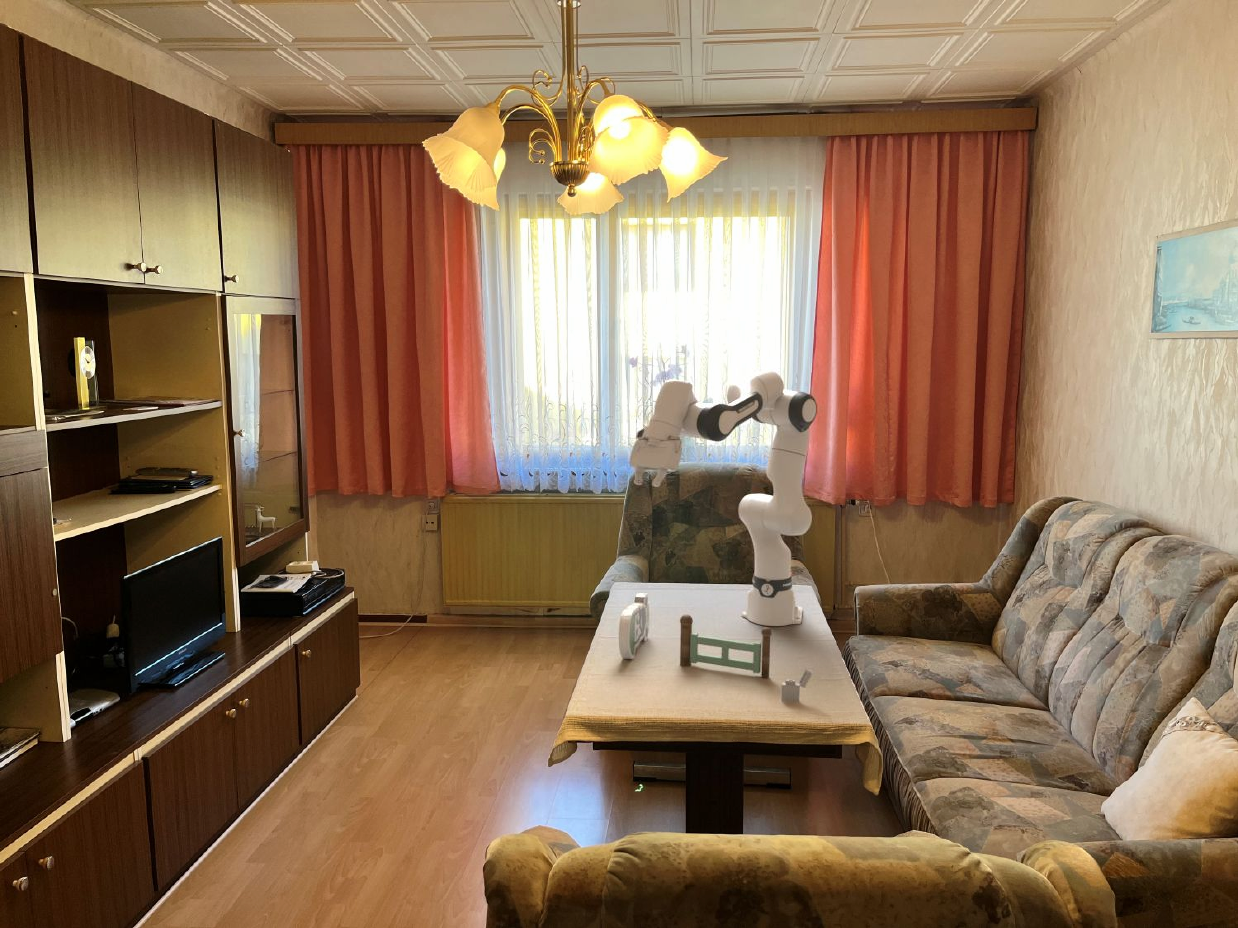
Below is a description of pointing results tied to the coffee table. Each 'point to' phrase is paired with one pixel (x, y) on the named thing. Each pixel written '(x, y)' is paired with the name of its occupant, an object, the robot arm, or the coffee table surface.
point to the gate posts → (685, 645)
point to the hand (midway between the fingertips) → (646, 485)
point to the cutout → (634, 626)
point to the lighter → (794, 688)
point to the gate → (725, 652)
